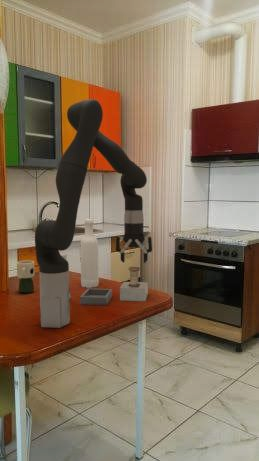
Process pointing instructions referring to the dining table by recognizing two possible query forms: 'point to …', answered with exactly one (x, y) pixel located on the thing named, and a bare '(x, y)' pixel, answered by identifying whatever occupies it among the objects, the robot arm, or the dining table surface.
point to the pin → (134, 276)
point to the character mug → (25, 275)
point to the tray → (96, 297)
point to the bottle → (89, 257)
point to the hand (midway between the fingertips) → (134, 262)
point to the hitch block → (134, 292)
